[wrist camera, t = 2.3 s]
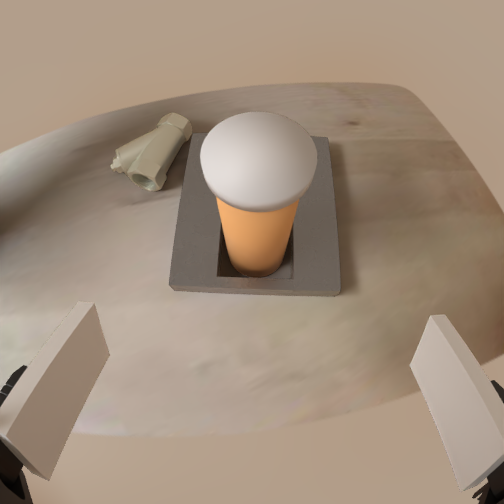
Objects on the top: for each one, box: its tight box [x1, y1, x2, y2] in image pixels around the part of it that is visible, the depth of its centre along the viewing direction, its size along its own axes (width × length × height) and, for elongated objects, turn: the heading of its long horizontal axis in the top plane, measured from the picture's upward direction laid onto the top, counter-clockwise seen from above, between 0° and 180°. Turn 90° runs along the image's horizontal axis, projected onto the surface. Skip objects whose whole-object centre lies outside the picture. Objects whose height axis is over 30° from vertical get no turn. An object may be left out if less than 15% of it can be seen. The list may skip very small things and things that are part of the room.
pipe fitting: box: [110, 112, 193, 191], centre depth 30 cm, size 8×4×7 cm
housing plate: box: [169, 133, 341, 296], centre depth 28 cm, size 14×16×2 cm
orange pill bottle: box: [200, 112, 317, 278], centre depth 21 cm, size 6×6×14 cm
